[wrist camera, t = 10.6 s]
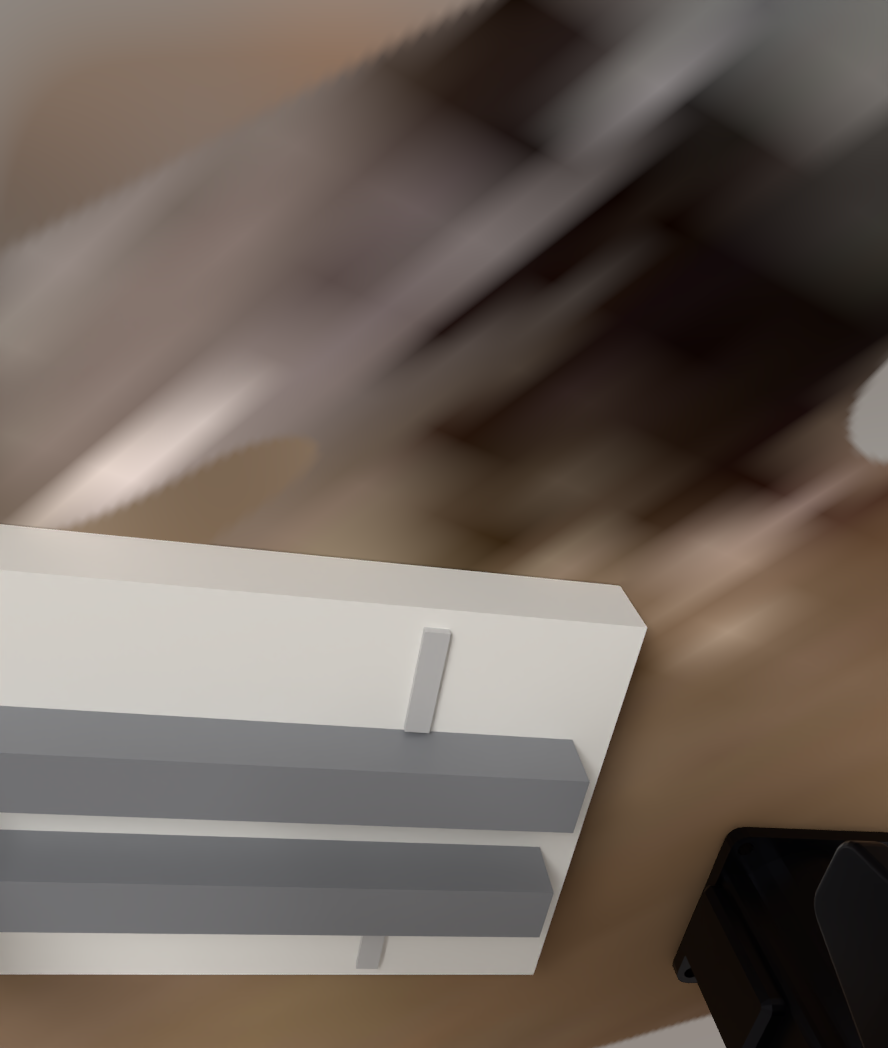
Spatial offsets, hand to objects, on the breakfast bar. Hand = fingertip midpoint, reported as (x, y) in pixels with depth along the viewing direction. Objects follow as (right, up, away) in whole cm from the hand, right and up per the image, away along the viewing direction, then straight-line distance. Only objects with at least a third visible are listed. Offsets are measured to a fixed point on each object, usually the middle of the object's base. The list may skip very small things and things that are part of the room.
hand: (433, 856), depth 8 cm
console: (-8, -2, +13) cm, 16 cm away
